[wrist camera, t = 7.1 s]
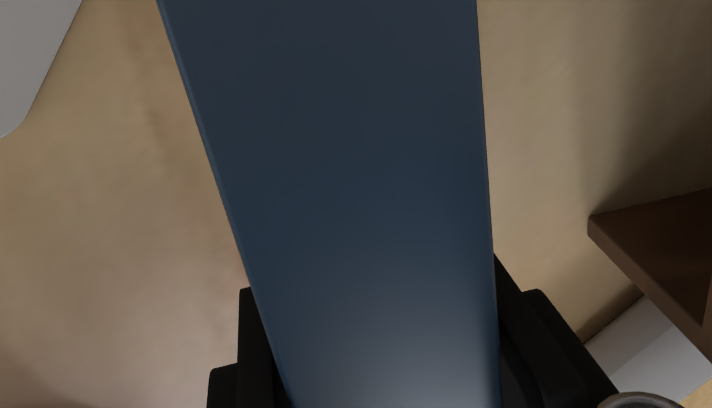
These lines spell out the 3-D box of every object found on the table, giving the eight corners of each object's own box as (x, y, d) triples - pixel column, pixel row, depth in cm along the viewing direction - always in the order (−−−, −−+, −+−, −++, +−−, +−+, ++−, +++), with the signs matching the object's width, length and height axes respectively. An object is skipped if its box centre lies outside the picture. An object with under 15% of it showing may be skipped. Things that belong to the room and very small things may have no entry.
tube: (797, 220, 26) (417, 525, 32) (872, 295, 26) (484, 579, 33) (732, 190, 31) (416, 459, 37) (796, 254, 31) (474, 506, 38)
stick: (381, 623, 16) (407, 762, 13) (47, -497, 6) (-135, -865, 3) (482, 595, 16) (526, 726, 14) (343, -542, 6) (420, -919, 3)
